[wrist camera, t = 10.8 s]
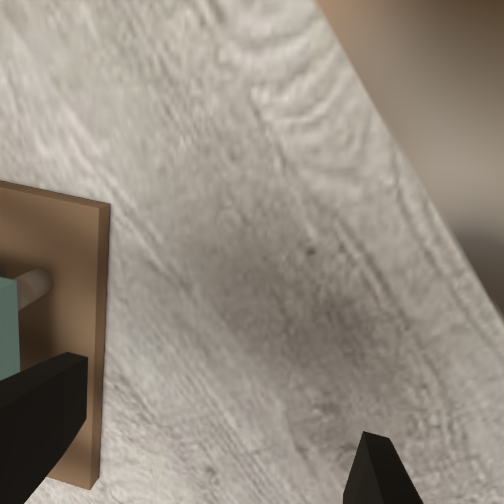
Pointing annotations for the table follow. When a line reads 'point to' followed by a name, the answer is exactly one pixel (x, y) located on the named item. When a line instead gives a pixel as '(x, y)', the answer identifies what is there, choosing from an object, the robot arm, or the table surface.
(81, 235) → the peg rack
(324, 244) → the table surface
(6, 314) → the teal rectangular block
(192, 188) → the table surface
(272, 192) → the table surface
